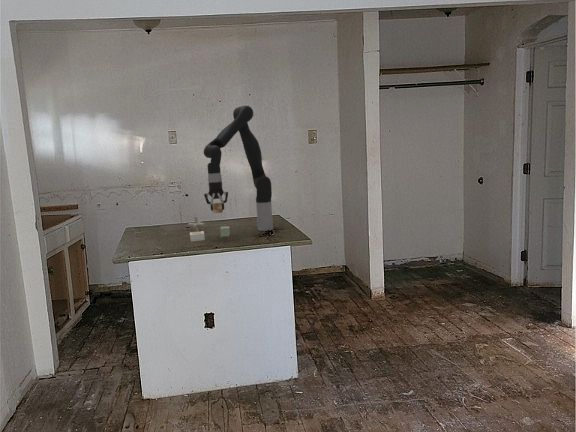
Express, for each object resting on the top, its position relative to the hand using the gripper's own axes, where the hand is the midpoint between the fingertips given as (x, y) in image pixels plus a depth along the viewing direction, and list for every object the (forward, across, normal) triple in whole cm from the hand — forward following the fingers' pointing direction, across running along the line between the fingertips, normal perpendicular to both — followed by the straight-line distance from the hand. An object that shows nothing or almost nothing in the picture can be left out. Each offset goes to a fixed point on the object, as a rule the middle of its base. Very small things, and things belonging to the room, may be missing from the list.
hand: (217, 210), depth 294 cm
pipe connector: (+17, +15, -23) cm, 32 cm away
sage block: (+17, -3, -8) cm, 19 cm away
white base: (+17, +13, -3) cm, 22 cm away
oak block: (+1, 0, 0) cm, 1 cm away
